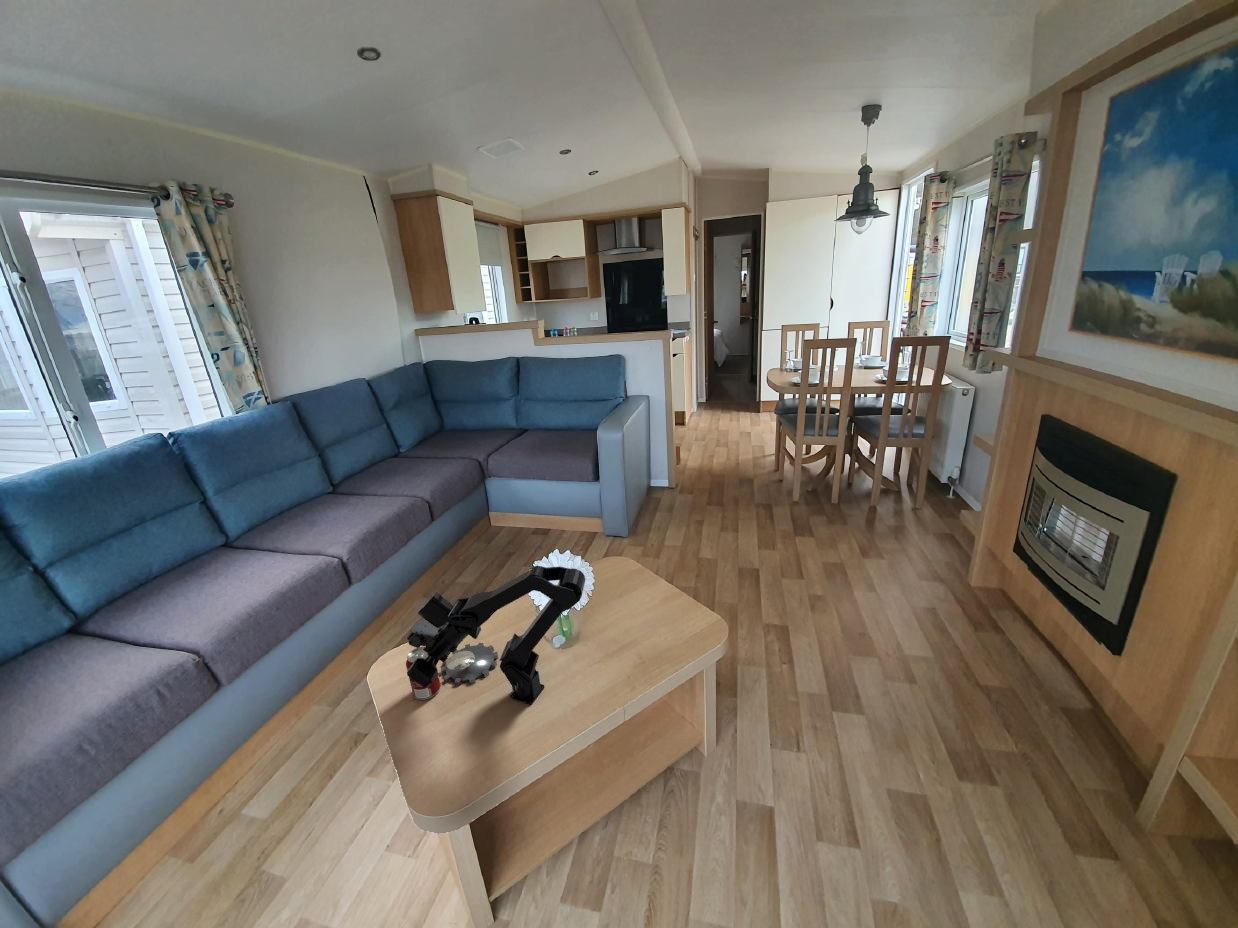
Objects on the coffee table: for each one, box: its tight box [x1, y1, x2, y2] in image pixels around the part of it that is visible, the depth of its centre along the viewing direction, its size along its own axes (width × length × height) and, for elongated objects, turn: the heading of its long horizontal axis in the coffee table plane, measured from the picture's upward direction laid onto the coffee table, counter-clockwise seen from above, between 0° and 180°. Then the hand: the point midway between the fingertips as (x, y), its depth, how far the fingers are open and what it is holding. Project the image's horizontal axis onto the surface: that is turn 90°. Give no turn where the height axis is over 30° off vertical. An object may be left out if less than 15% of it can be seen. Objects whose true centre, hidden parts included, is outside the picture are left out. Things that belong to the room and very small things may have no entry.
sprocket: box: [440, 642, 499, 686], centre depth 136 cm, size 15×15×1 cm
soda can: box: [405, 646, 442, 701], centre depth 126 cm, size 7×7×12 cm
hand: (417, 670), depth 126 cm, fingers closed on soda can, 6 cm apart
